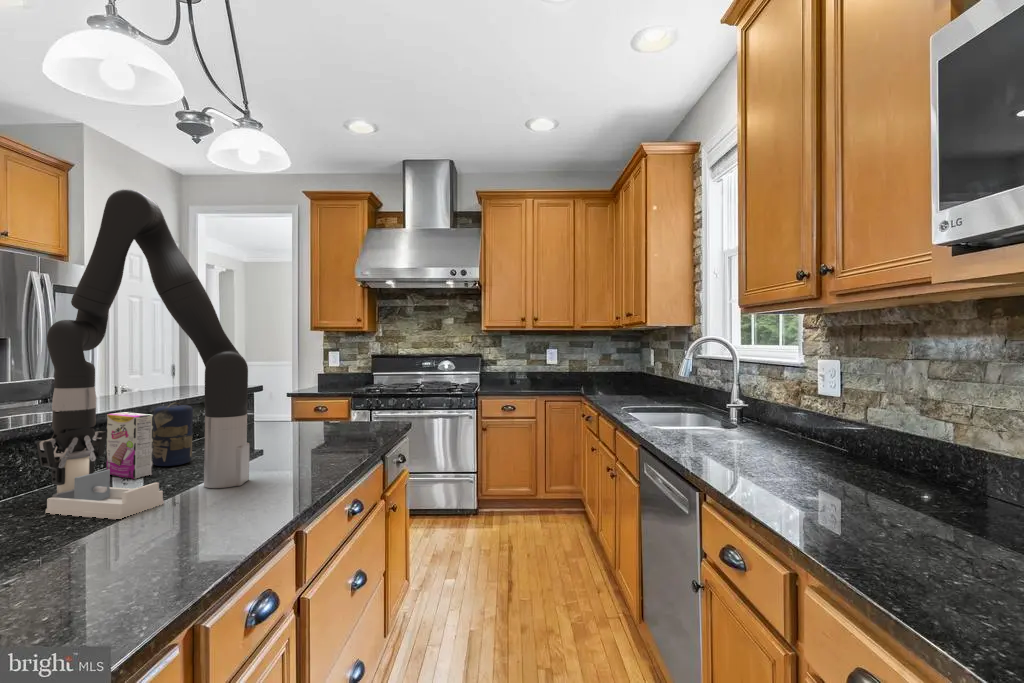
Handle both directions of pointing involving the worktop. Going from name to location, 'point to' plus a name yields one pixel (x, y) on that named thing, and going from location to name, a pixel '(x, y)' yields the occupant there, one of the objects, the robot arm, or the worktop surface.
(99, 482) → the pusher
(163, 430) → the canister
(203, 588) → the worktop surface
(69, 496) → the cream shallow rectangular tray
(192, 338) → the robot arm
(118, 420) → the candy bar box
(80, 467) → the jar
